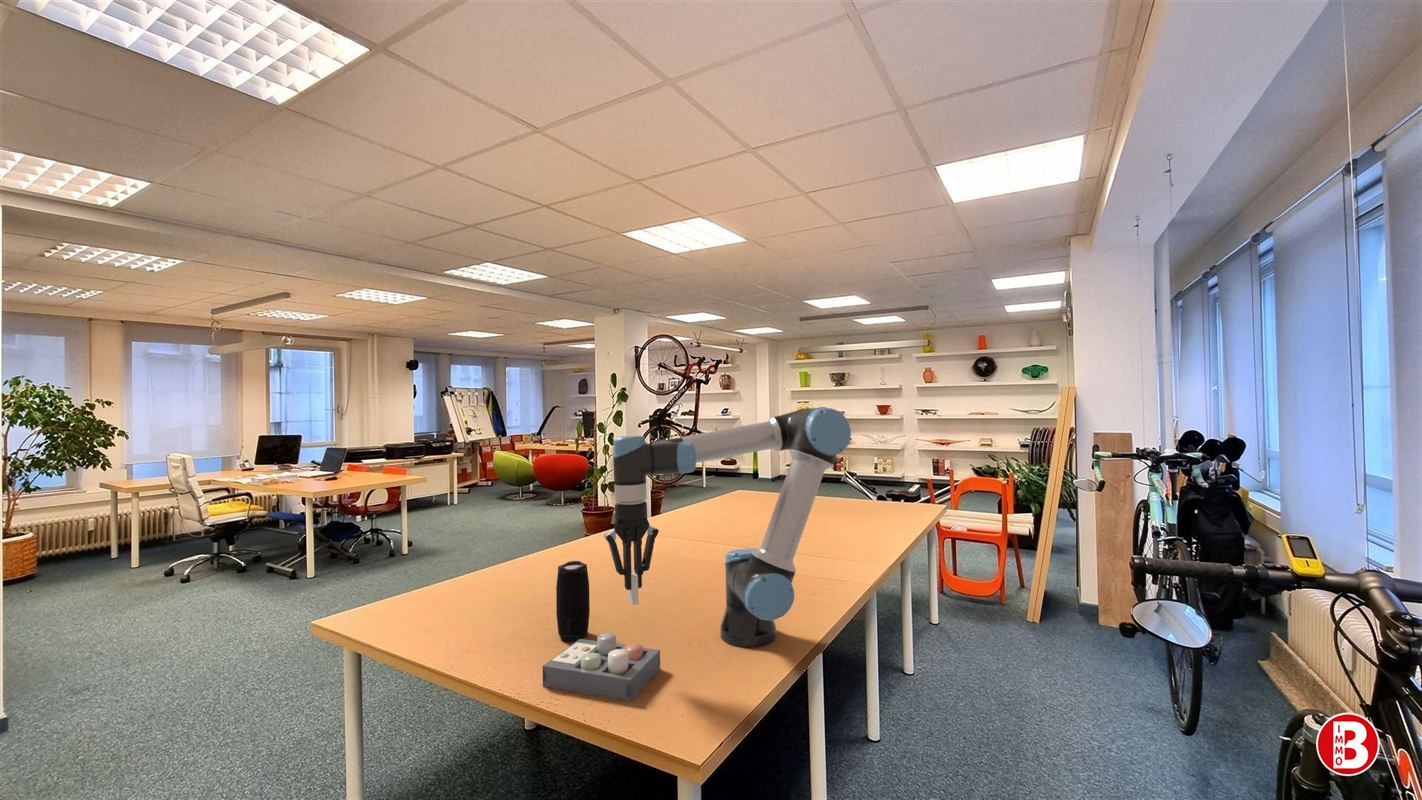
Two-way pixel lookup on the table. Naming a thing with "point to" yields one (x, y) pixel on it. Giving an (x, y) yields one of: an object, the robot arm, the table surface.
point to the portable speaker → (572, 600)
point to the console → (599, 672)
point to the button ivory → (618, 662)
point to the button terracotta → (634, 652)
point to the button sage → (591, 661)
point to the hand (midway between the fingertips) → (633, 602)
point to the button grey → (606, 643)
